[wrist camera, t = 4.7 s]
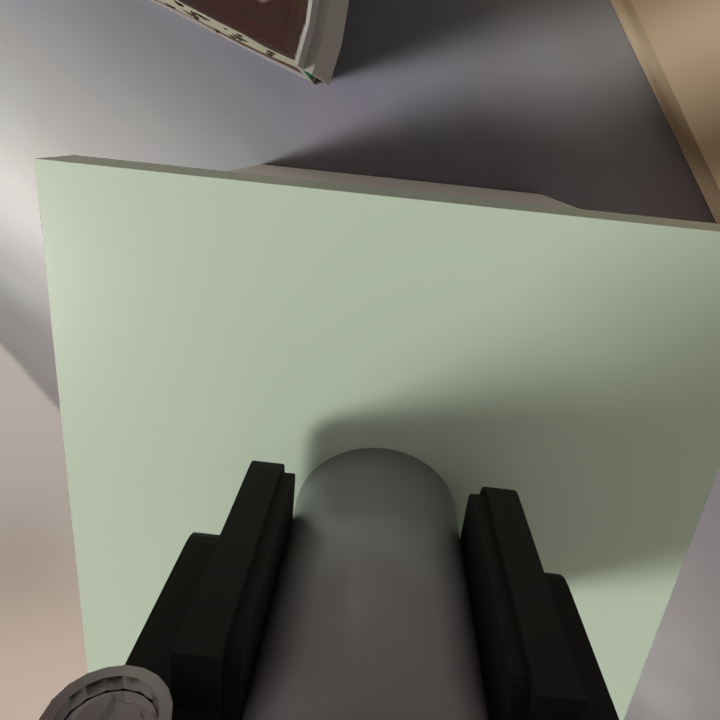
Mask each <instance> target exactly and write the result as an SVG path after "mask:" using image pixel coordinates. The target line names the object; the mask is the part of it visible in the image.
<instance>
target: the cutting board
mask: <svg viewBox="0 0 720 720" xmlns="http://www.w3.org/2000/svg"><path fill="white" fill-rule="evenodd" d="M610 2H611V4H612V6H613V8H614V10H615V12H616V14H617V16H618V19H619V21H620V23H621V25H622V27H623V29H624V31H625V33H626V35H627V37H628V39H629V42H630V44H631V46H632V48H633V50H634V52H635V54H636V56H637V58H638V60H639V62H640V65H641V67H642V69H643V71H644V73H645V75H646V77H647V79H648V81H649V83H650V85H651V88H652V90H653V92H654V94H655V96H656V98H657V100H658V102H659V104H660V106H661V108H662V111H663V113H664V115H665V117H666V119H667V121H668V123H669V125H670V127H671V129H672V131H673V134H674V136H675V138H676V140H677V142H678V144H679V146H680V148H681V150H682V152H683V154H684V157H685V159H686V161H687V163H688V165H689V167H690V169H691V171H692V173H693V175H694V177H695V180H696V182H697V184H698V186H699V188H700V190H701V192H702V194H703V196H704V198H705V200H706V203H707V205H708V207H709V209H710V211H711V213H712V215H713V217H714V219H715V221H716V223H717V224H720V0H610Z"/></svg>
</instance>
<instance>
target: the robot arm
mask: <svg viewBox="0 0 720 720" xmlns="http://www.w3.org/2000/svg"><path fill="white" fill-rule="evenodd" d="M294 492H295V474H294V473H285V467H284V464H280V463H272V462H263V461H254V460H253V461H252V462H251V464H250V466H249V468H248V470H247V473H246V475H245V477H244V480H243V482H242V485H241V487H240V489H239V492H238V494H237V496H236V499H235V501H234V503H233V506H232V508H231V510H230V513H229V515H228V517H227V520H226V522H225V524H224V527H223V529H222V531H221V534H220V535H215V534H207V533H198V532H194V533H192V534H191V535H190V536H189V538H188V540H187V541H186V543H185V545H184V547H183V549H182V551H181V553H180V555H179V557H178V559H177V561H176V563H175V565H174V567H173V569H172V571H171V573H170V575H169V577H168V579H167V581H166V583H165V585H164V587H163V589H162V591H161V593H160V595H159V597H158V599H157V601H156V603H155V605H154V607H153V609H152V611H151V613H150V615H149V617H148V619H147V621H146V623H145V625H144V627H143V629H142V631H141V633H140V635H139V637H138V639H137V641H136V643H135V645H134V647H133V649H132V651H131V653H130V655H129V657H128V659H127V661H126V663H125V665H121V666H111V667H105V668H102V669H99V670H96V671H93V672H90V673H87V674H86V675H84V676H82V677H81V678H79V679H77V680H76V681H74V682H72V683H70V684H69V685H68V686H67V687H65V688H64V689H63V690H62V691H61V692H60V693H59V694H58V695H57V696H56V697H55V698H54V699H52V701H51V702H50V704H49V705H48V707H47V708H46V710H45V711H44V713H43V714H42V716H41V717H40V719H39V720H241V717H242V713H243V709H244V706H245V702H246V698H247V694H248V690H249V686H250V682H251V678H252V675H253V671H254V667H255V663H256V659H257V655H258V651H259V647H260V644H261V640H262V636H263V632H264V628H265V624H266V620H267V616H268V613H269V609H270V605H271V601H272V597H273V593H274V589H275V585H276V582H277V578H278V574H279V570H280V566H281V562H282V558H283V554H284V551H285V547H286V543H287V539H288V535H289V531H290V527H291V523H292V520H293V507H294ZM460 540H461V547H462V553H463V559H464V565H465V571H466V578H467V584H468V590H469V596H470V602H471V609H472V615H473V621H474V627H475V633H476V640H477V646H478V652H479V658H480V664H481V671H482V677H483V683H484V689H485V695H486V702H487V708H488V714H489V720H619V717H618V715H617V712H616V710H615V707H614V704H613V702H612V699H611V696H610V694H609V691H608V688H607V686H606V683H605V681H604V678H603V675H602V673H601V670H600V667H599V665H598V662H597V660H596V657H595V654H594V652H593V649H592V646H591V644H590V641H589V638H588V636H587V633H586V631H585V628H584V625H583V623H582V620H581V617H580V615H579V612H578V609H577V607H576V604H575V602H574V599H573V596H572V594H571V591H570V588H569V586H568V584H567V582H566V580H565V578H564V577H563V576H562V575H561V574H554V573H545V572H544V570H543V567H542V564H541V561H540V558H539V555H538V552H537V549H536V546H535V543H534V540H533V537H532V534H531V531H530V528H529V525H528V522H527V519H526V516H525V514H524V511H523V508H522V505H521V502H520V499H519V496H518V493H517V491H515V490H510V489H501V488H492V487H482V489H481V491H480V494H470V495H469V497H468V501H467V506H466V511H465V516H464V521H463V526H462V531H461V537H460Z"/></svg>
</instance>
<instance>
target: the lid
mask: <svg viewBox="0 0 720 720" xmlns="http://www.w3.org/2000/svg"><path fill="white" fill-rule="evenodd" d="M35 168H36V177H37V187H38V197H39V206H40V216H41V226H42V235H43V245H44V255H45V264H46V274H47V284H48V294H49V303H50V313H51V323H52V332H53V342H54V352H55V361H56V371H57V381H58V390H59V400H60V410H61V419H62V429H63V439H64V448H65V458H66V468H67V476H68V477H67V478H68V487H69V497H70V506H71V516H72V525H73V535H74V545H75V555H76V565H77V575H78V584H79V593H80V604H81V612H82V622H83V631H84V632H83V633H84V642H85V652H86V662H87V671H88V673H90V672H93V671H96V670H99V669H102V668H105V667H111V666H121V665H125V663H126V661H127V659H128V657H129V655H130V653H131V651H132V649H133V647H134V645H135V643H136V641H137V639H138V637H139V635H140V633H141V631H142V629H143V627H144V625H145V623H146V621H147V619H148V617H149V615H150V613H151V611H152V609H153V607H154V605H155V603H156V601H157V599H158V597H159V595H160V593H161V591H162V589H163V587H164V585H165V583H166V581H167V579H168V577H169V575H170V573H171V571H172V569H173V567H174V565H175V563H176V561H177V559H178V557H179V555H180V553H181V551H182V549H183V547H184V545H185V543H186V541H187V540H188V538H189V536H190V535H191V534H192V533H194V532H198V533H207V534H215V535H220V534H221V531H222V529H223V527H224V524H225V522H226V520H227V517H228V515H229V513H230V510H231V508H232V506H233V503H234V501H235V499H236V496H237V494H238V492H239V489H240V487H241V485H242V482H243V480H244V477H245V475H246V473H247V470H248V468H249V466H250V464H251V462H252V461H253V460H254V461H263V462H272V463H280V464H284V467H285V473H294V474H295V492H294V507H293V520H292V523H291V527H290V531H289V535H288V539H287V543H286V547H285V551H284V554H283V558H282V562H281V566H280V570H279V574H278V578H277V582H276V585H275V589H274V593H273V597H272V601H271V605H270V609H269V613H268V616H267V620H266V624H265V628H264V632H263V636H262V640H261V644H260V647H259V651H258V655H257V659H256V663H255V667H254V671H253V675H252V678H251V682H250V686H249V690H248V694H247V698H246V702H245V706H244V709H243V713H242V717H241V720H489V714H488V708H487V702H486V695H485V689H484V683H483V677H482V671H481V664H480V658H479V652H478V646H477V640H476V633H475V627H474V621H473V615H472V609H471V602H470V596H469V590H468V584H467V578H466V571H465V565H464V559H463V553H462V547H461V540H460V537H461V531H462V526H463V521H464V516H465V511H466V506H467V501H468V497H469V495H470V494H480V491H481V489H482V487H492V488H501V489H510V490H515V491H517V493H518V496H519V499H520V502H521V505H522V508H523V511H524V514H525V516H526V519H527V522H528V525H529V528H530V531H531V534H532V537H533V540H534V543H535V546H536V549H537V552H538V555H539V558H540V561H541V564H542V567H543V570H544V572H545V573H554V574H561V575H562V576H563V577H564V578H565V580H566V582H567V584H568V586H569V588H570V591H571V594H572V596H573V599H574V602H575V604H576V607H577V609H578V612H579V615H580V617H581V620H582V623H583V625H584V628H585V631H586V633H587V636H588V638H589V641H590V644H591V646H592V649H593V652H594V654H595V657H596V660H597V662H598V665H599V667H600V670H601V673H602V675H603V678H604V681H605V683H606V686H607V688H608V691H609V694H610V696H611V699H612V702H613V704H614V707H615V710H616V712H617V715H618V717H619V720H624V717H625V715H626V712H627V709H628V707H629V704H630V701H631V699H632V696H633V693H634V691H635V688H636V685H637V683H638V680H639V678H640V675H641V672H642V670H643V667H644V664H645V662H646V659H647V656H648V654H649V651H650V648H651V646H652V643H653V641H654V638H655V635H656V633H657V630H658V627H659V625H660V622H661V619H662V617H663V614H664V612H665V609H666V606H667V604H668V601H669V598H670V596H671V593H672V590H673V588H674V585H675V582H676V580H677V577H678V575H679V572H680V569H681V567H682V564H683V561H684V559H685V556H686V553H687V551H688V548H689V545H690V543H691V540H692V538H693V535H694V532H695V530H696V527H697V524H698V522H699V519H700V516H701V514H702V511H703V508H704V506H705V503H706V501H707V498H708V495H709V493H710V490H711V487H712V485H713V482H714V479H715V477H716V474H717V471H718V469H719V466H720V224H716V223H706V222H697V221H687V220H678V219H669V218H659V217H650V216H640V215H631V214H622V213H612V212H603V211H594V210H584V209H575V208H565V207H556V206H547V205H537V204H528V203H518V202H509V201H500V200H490V199H481V198H472V197H462V196H453V195H443V194H434V193H425V192H415V191H406V190H397V189H387V188H378V187H368V186H359V185H350V184H340V183H331V182H321V181H312V180H303V179H293V178H284V177H275V176H265V175H256V174H246V173H237V172H228V171H218V170H209V169H199V168H190V167H181V166H171V165H162V164H153V163H143V162H134V161H124V160H115V159H106V158H96V157H87V156H78V155H71V156H60V157H48V158H37V159H35Z"/></svg>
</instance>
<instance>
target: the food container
mask: <svg viewBox="0 0 720 720" xmlns="http://www.w3.org/2000/svg"><path fill="white" fill-rule="evenodd" d="M149 1H151V2H153V3H155V4H157V5H159V6H161V7H163V8H165V9H167V10H169V11H171V12H173V13H175V14H177V15H179V16H181V17H183V18H185V19H187V20H189V21H191V22H193V23H195V24H197V25H199V26H201V27H203V28H205V29H207V30H209V31H211V32H213V33H215V34H216V35H218V36H220V37H222V38H224V39H226V40H228V41H230V42H232V43H234V44H236V45H238V46H240V47H242V48H244V49H246V50H248V51H250V52H252V53H254V54H256V55H258V56H260V57H262V58H264V59H266V60H268V61H270V62H272V63H274V64H276V65H278V66H280V67H282V68H284V69H285V70H287V71H289V72H291V73H293V74H295V75H297V76H299V77H301V78H303V79H305V80H307V81H309V82H311V83H313V84H315V81H316V78H318V79H320V80H321V81H323V82H325V83H327V84H330V81H331V78H332V75H333V71H334V68H335V65H336V62H337V59H338V55H339V52H340V49H341V46H342V40H343V34H344V28H345V22H346V16H347V11H348V5H349V0H149Z"/></svg>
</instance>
